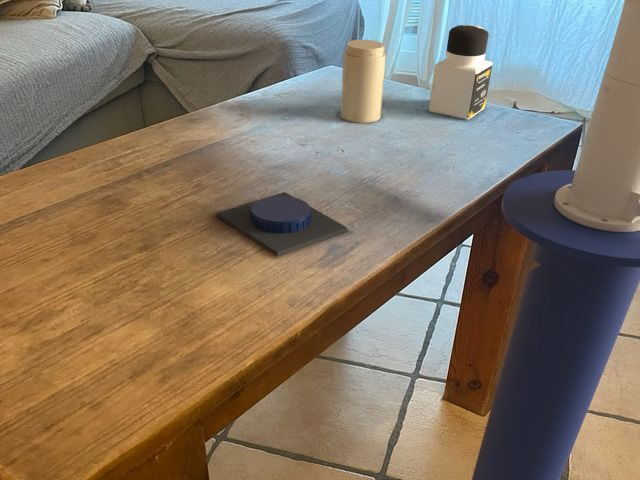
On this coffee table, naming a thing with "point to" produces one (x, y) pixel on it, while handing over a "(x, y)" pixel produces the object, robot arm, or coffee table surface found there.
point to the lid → (280, 214)
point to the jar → (363, 81)
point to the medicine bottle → (462, 74)
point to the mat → (282, 242)
